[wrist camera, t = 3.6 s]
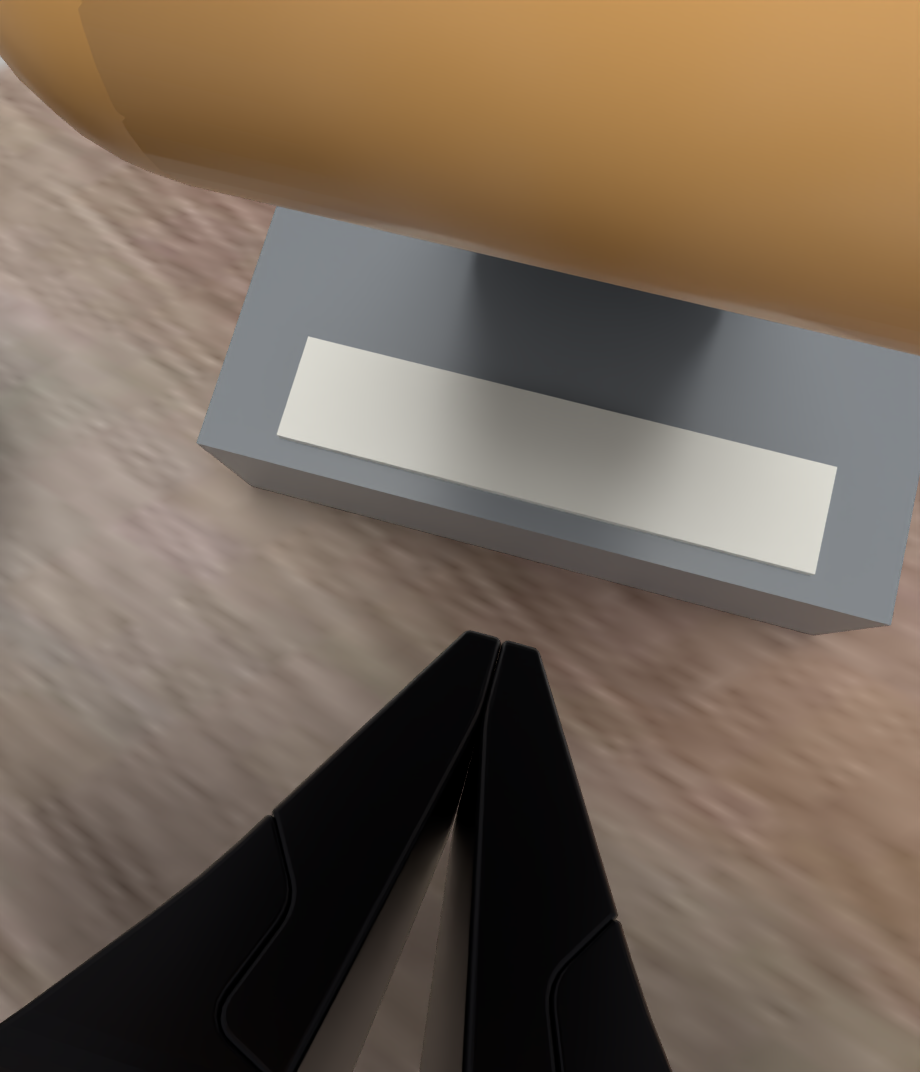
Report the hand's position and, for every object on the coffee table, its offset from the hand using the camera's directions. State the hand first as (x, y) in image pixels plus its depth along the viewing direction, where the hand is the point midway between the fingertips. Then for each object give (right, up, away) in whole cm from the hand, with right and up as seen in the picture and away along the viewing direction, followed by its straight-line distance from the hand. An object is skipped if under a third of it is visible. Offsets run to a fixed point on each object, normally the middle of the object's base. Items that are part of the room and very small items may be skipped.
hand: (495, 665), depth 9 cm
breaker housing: (+2, +5, +10) cm, 11 cm away
